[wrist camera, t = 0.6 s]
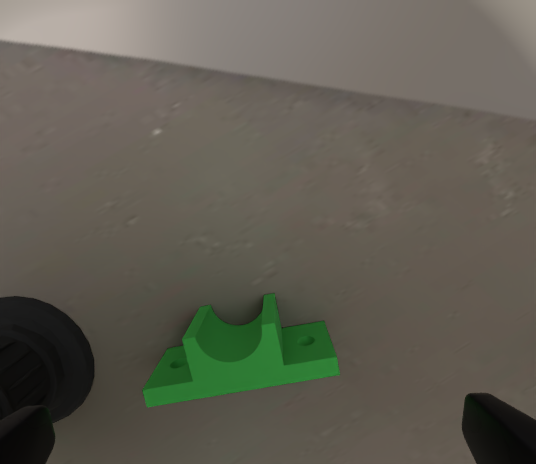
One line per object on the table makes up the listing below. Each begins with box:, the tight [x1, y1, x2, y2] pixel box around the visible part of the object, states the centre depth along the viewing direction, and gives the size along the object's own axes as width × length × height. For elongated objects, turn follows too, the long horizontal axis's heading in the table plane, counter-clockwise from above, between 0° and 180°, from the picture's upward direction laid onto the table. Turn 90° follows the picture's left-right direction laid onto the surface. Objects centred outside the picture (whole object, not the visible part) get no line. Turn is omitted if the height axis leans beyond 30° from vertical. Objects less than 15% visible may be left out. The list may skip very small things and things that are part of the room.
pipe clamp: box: [142, 293, 340, 407], centre depth 20 cm, size 11×4×5 cm, turn 101°
